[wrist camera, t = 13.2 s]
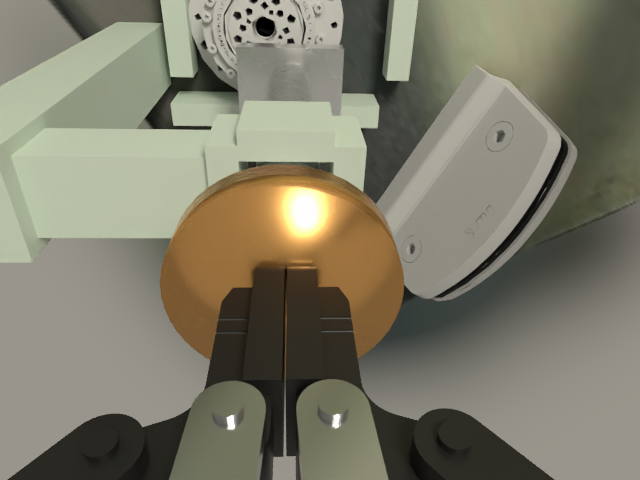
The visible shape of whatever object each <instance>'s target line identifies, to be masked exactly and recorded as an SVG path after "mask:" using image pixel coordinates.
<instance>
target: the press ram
mask: <svg viewBox="0 0 640 480" xmlns="http://www.w3.org/2000/svg"><path fill="white" fill-rule="evenodd" d="M343 58H344V48H343V45H331V44H283V43H237V45H236V62H237V78H238V95H239V111H240V114H241V112H242V108H243V105H244V101H303V102H330V107H331V112H332V116H341V97H342V78H343ZM287 266H317V276H318V287H339V288H340V290H341V291H342V292H343V293H344V295H345V296H346V297H347V299H348V300H349V304H350V311H351V320H352V324H353V333H354V338H355V344H356V351H357V358H360V357H361V356H363V355H364V354H365V353H367V352H368V351H369V350H371V349H372V348H373V347H374V346H375V345H376V344H377V343H378V342H379V341H380V340H381V339H382V338H383V337H384V336H385V334H386V333H387V332H388V331H389V329H390V328H391V326H392V324H393V323H394V321H395V319H396V317H397V315H398V312H399V310H400V307H401V303H402V299H403V294H404V275H403V268H402V264H401V261H400V257H399V254H398V251H397V247H396V244H395V241H394V238H393V235H392V232H391V229H390V227H389V225H388V223H387V220H386V219H385V217H384V215H383V214H382V212H381V211H380V209H379V208H378V207H377V206H376V204H375V203H374V202H373V201H372V200H371V199H370V198H369V197H368V196H367V195H366V194H365V193H363V192H362V191H361V190H360V189H359V188H357V187H356V186H354V185H353V184H351V183H349V182H348V181H346V180H344V179H342V178H340V177H338V176H336V175H334V174H332V173H328V172H325V171H322V170H320V167H319V162H256V167H253V168H249V169H246V170H242V171H239V172H236V173H234V174H231V175H229V176H227V177H225V178H223V179H220V180H219V181H217V182H216V183H214V184H212V185H211V186H209V187H208V188H207V189H205V190H204V191H203V192H202V193H201V194H199V195H198V196H197V197H196V198H195V199H194V200H193V202H192V203H191V204H190V205H189V206H188V207H187V209H186V210H185V212H184V213H183V215H182V217H181V218H180V220H179V222H178V225H177V227H176V229H175V232H174V234H173V237H172V239H171V242H170V244H169V247H168V249H167V252H166V255H165V257H164V261H163V265H162V269H161V279H160V287H161V296H162V300H163V304H164V308H165V310H166V312H167V315H168V317H169V319H170V321H171V323H172V324H173V326H174V327H175V329H176V330H177V332H178V333H179V334H180V335H181V336H182V338H183V339H184V340H185V341H186V342H187V343H188V344H189V345H190V346H191V347H193V348H194V349H195V350H196V351H197V352H199V353H200V354H202V355H203V356H204V357H206V358H208V359H209V360H211V355H212V350H213V344H214V339H215V335H216V329H217V323H218V321H219V313H220V307H221V302H222V301H223V299H224V298H225V297H226V296H227V294H228V293H229V292H230V291H231V289H232V288H240V287H253V280H254V271H255V267H285V317H286V322H287ZM285 379H286V332H285Z"/></svg>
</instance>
